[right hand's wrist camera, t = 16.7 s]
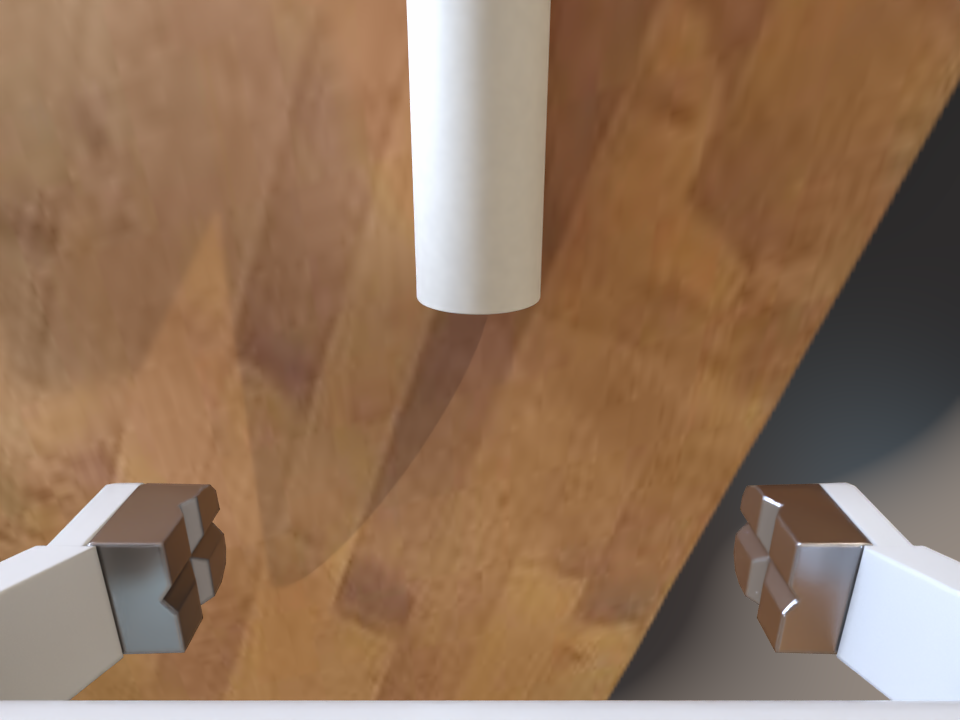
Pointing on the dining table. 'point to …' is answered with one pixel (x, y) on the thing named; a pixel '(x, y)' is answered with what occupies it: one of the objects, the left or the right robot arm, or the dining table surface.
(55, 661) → the right robot arm
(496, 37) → the rod
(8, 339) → the dining table surface
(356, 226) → the dining table surface
